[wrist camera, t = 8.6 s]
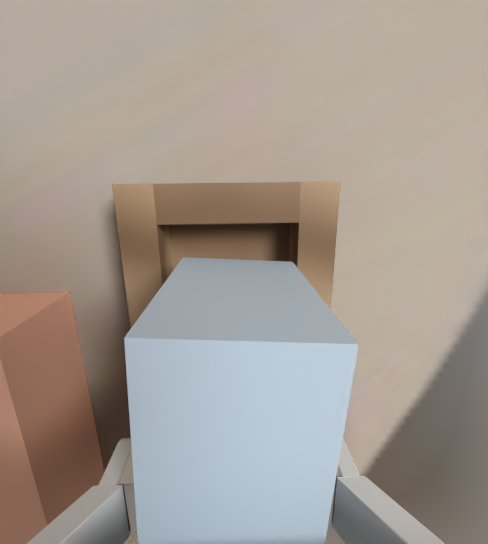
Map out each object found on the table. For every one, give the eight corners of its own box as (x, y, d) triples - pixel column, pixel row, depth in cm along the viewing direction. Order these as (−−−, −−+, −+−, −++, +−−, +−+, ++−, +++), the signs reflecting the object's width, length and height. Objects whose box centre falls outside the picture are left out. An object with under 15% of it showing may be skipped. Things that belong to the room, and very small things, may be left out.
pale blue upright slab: (182, 257, 11) (123, 338, 5) (292, 261, 11) (358, 344, 5) (184, 506, 14) (150, 729, 8) (269, 506, 14) (293, 725, 8)
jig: (134, 184, 13) (112, 184, 11) (320, 182, 14) (340, 181, 11) (165, 467, 18) (154, 512, 16) (304, 462, 18) (315, 505, 16)
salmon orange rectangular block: (-10, 292, 15) (-126, 343, 10) (71, 290, 15) (-5, 340, 10) (40, 476, 18) (-29, 580, 13) (106, 473, 18) (61, 575, 14)
